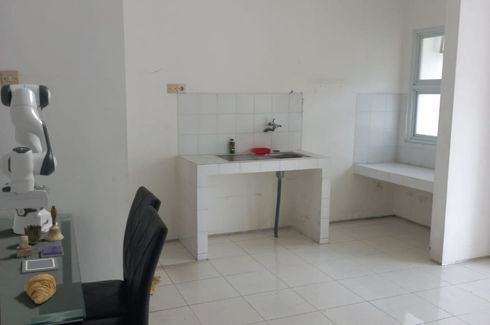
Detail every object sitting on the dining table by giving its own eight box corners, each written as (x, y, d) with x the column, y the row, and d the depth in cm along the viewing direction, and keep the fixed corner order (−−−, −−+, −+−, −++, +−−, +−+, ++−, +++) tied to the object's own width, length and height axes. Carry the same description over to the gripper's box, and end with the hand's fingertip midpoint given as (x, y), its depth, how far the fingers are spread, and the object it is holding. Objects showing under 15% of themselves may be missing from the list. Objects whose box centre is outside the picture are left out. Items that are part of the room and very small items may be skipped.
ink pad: (40, 250, 205) (40, 247, 204) (62, 248, 208) (62, 245, 208) (41, 257, 197) (41, 253, 196) (63, 255, 200) (63, 251, 200)
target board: (22, 261, 191) (22, 260, 191) (56, 258, 196) (56, 256, 196) (22, 273, 179) (22, 271, 179) (58, 269, 185) (58, 268, 185)
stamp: (17, 253, 200) (16, 235, 199) (31, 252, 202) (30, 234, 201) (16, 257, 195) (16, 239, 194) (31, 256, 198) (30, 238, 196)
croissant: (48, 315, 156) (60, 294, 156) (18, 305, 152) (30, 283, 152) (50, 288, 175) (61, 269, 175) (24, 278, 171) (34, 259, 171)
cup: (35, 247, 208) (34, 230, 207) (20, 245, 210) (20, 228, 209) (45, 242, 216) (45, 225, 214) (31, 240, 217) (31, 223, 216)
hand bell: (45, 242, 216) (45, 208, 214) (44, 236, 223) (43, 204, 221) (64, 240, 220) (64, 207, 217) (62, 235, 227) (62, 203, 225)
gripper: (49, 184, 201) (49, 215, 203) (-5, 185, 193) (-4, 218, 195) (49, 186, 196) (50, 218, 198) (-6, 188, 187) (-5, 222, 189)
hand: (23, 218), depth 196 cm, fingers open, 8 cm apart
